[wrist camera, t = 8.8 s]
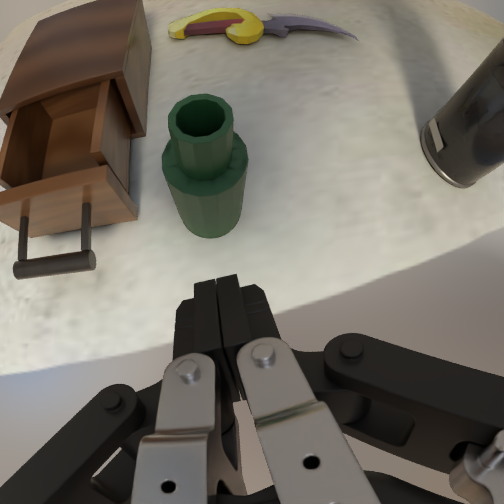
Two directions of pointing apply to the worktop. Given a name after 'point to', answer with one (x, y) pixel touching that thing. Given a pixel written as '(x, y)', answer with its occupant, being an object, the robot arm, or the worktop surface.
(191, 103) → the bottle
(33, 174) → the drawer
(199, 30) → the knife
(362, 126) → the worktop surface
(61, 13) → the cabinet
